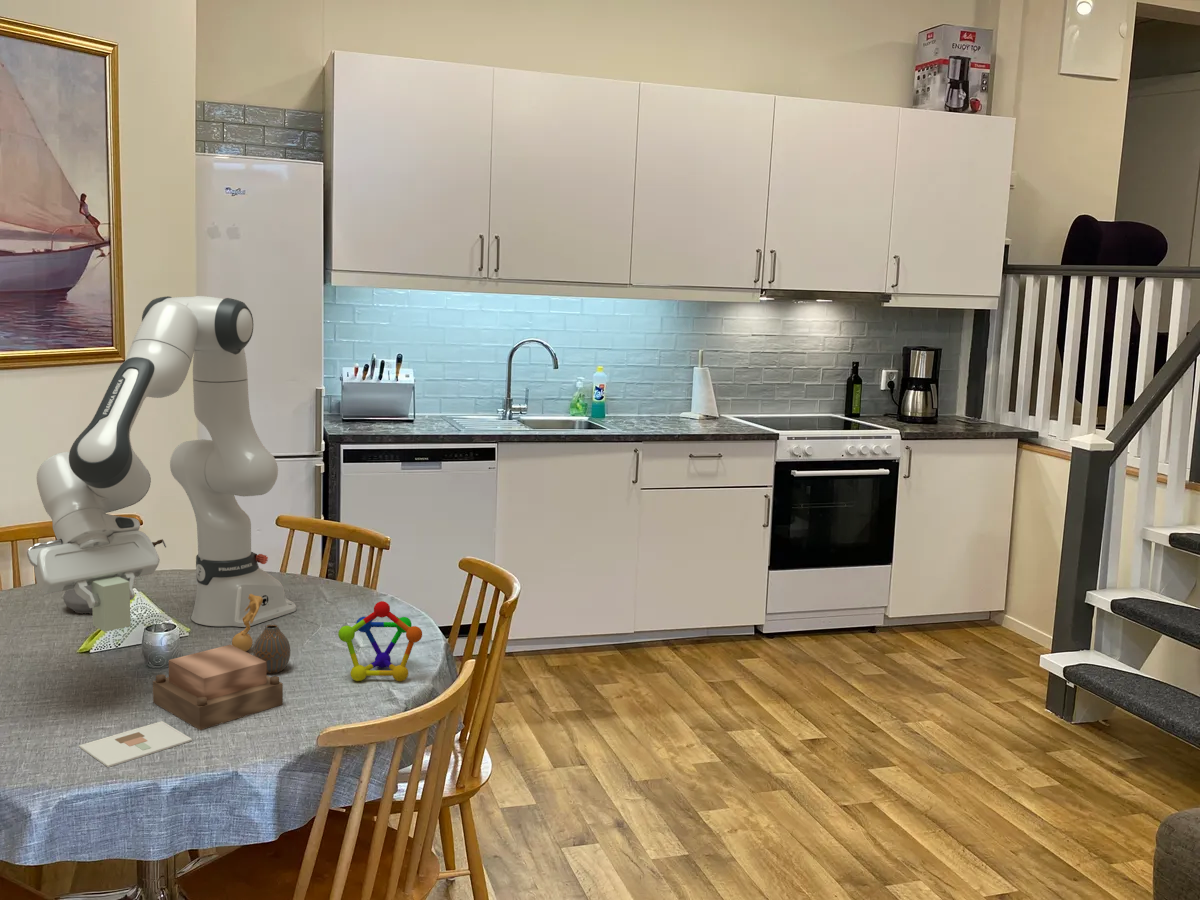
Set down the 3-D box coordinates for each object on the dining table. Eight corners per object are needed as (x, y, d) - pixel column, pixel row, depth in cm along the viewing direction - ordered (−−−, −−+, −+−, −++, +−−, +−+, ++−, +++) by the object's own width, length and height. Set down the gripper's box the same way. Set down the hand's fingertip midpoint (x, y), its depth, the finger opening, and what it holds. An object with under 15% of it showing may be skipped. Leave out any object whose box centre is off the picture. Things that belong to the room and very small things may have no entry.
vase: (297, 666, 215) (297, 623, 214) (276, 678, 209) (276, 634, 207) (267, 661, 217) (267, 618, 216) (245, 672, 211) (245, 629, 209)
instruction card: (162, 722, 187) (162, 720, 187) (192, 740, 180) (192, 738, 180) (79, 747, 176) (78, 744, 176) (107, 767, 170) (107, 764, 170)
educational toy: (409, 663, 222) (417, 592, 220) (417, 688, 210) (426, 612, 208) (330, 661, 217) (338, 588, 215) (335, 686, 205) (343, 609, 203)
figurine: (229, 645, 225) (229, 589, 223) (260, 643, 227) (259, 587, 225) (234, 659, 217) (233, 601, 215) (265, 656, 220) (265, 598, 218)
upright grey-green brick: (118, 619, 193) (117, 575, 192) (130, 626, 190) (129, 581, 189) (93, 625, 190) (91, 580, 188) (104, 631, 187) (103, 586, 185)
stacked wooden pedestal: (234, 679, 207) (234, 639, 206) (282, 704, 197) (282, 662, 195) (153, 702, 195) (152, 659, 194) (199, 730, 185) (199, 684, 183)
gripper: (28, 535, 184) (55, 605, 179) (146, 517, 199) (174, 581, 194) (18, 555, 187) (45, 624, 183) (135, 536, 203) (163, 599, 198)
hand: (113, 602), depth 189 cm, fingers closed on upright grey-green brick, 4 cm apart
